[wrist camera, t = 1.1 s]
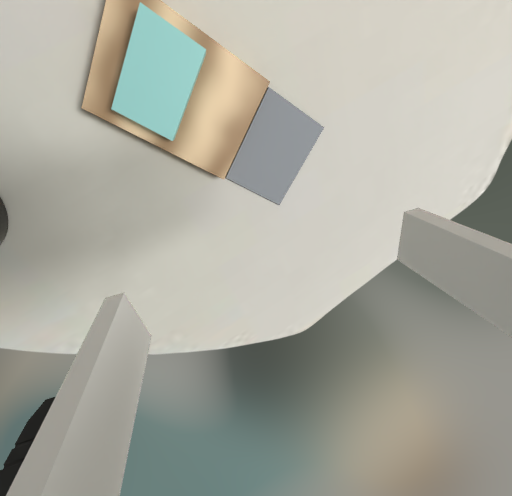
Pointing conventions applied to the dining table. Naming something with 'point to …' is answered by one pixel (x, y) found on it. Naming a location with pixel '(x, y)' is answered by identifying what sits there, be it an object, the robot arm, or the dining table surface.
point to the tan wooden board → (202, 97)
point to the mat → (274, 148)
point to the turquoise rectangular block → (157, 74)
